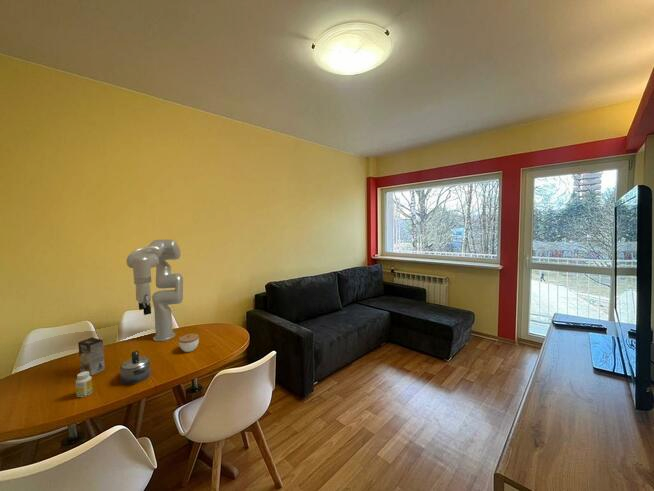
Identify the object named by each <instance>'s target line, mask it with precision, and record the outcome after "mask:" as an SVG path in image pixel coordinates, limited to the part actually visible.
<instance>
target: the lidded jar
mask: <svg viewBox="0 0 654 491" xmlns="http://www.w3.org/2000/svg"><path fill="white" fill-rule="evenodd" d="M178 343H179V344H178V345H179V347H180V350H182V351H183V352H185V353H191V352H194V351H195V350H196V348H197V347H198V346H199V343H200V335H199V334H197V333H188V334H187V333H186V334H185V335H182V336H180V337H179V338H178Z"/></svg>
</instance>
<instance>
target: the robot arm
mask: <svg viewBox="0 0 654 491" xmlns="http://www.w3.org/2000/svg"><path fill="white" fill-rule="evenodd" d="M181 254H182V253H181V249H180V246H179V245H178V243H177V242H176V241H175V240H174V239H155V240H152V241H151V242H150V244H149V245H147V246H144V247H141V248H138V249H135V250H133V251H131V252H130V253H129V255H128V256H127V257H126V265H127V267H128V268H130V269H132V273H133V276H132V277H133V283H134V285H135V300H136V301H137V302H138V310H139V311H142V310H143V315H144V316H145V315H151V314H152V306H151V301H152V305H153V310H154V322H155V324H154V325H155V335H154V336H153V337H152V339H153V341H154V342H164V341H169V340H171V339H173V338H174V337H175V336H176V332H174V331H173V319H172V316H173V315H172V314H173V313H172V309H171V307H170V305H171V306H172V305H178V304H181V303H182V302H183V300H184V299H183V298H184V278H183V275H182V274H181V273H172V266H171V265H170V264H169V263H168V262H167V261H173V260H175V261H176V260H179V259H180V257H181ZM154 267H155V287H156V288H157V289H161V290H157V291H154V292H153V293H151V286H150V285H151V283H152V271H151V270H152V268H154ZM162 289H164V290H162ZM151 294H152V295H151Z"/></svg>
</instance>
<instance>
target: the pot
mask: <svg viewBox="0 0 654 491" xmlns="http://www.w3.org/2000/svg"><path fill="white" fill-rule="evenodd" d="M119 370H120V373H119V374H120V383H121V384H122V385H135V384H137V383H140V382H143V381H146V380H147V379H149V377H150V376H151V374H152V372H151V360H150V358H149V362H148V363H147V364H145V365H144V366H141V367H139V368H135V369H130V370H126V369H122V364H120V366H119Z"/></svg>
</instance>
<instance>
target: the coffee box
mask: <svg viewBox="0 0 654 491" xmlns="http://www.w3.org/2000/svg"><path fill="white" fill-rule="evenodd" d="M78 354H79V355H78V356H79V366H80V367H79V368H80V369H79V370H80V373H81V372H85V371H89V374H90V375H89V376H93V375H96V374H98V373H100V372H103V371H104V370H105V368H106V367H105V357H104V356H105V354H104V340H103V339H101V338H100V339H99V338H96V337H92V336H91V337H89V338H87V339H83V340H81V341H79V342H78Z"/></svg>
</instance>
